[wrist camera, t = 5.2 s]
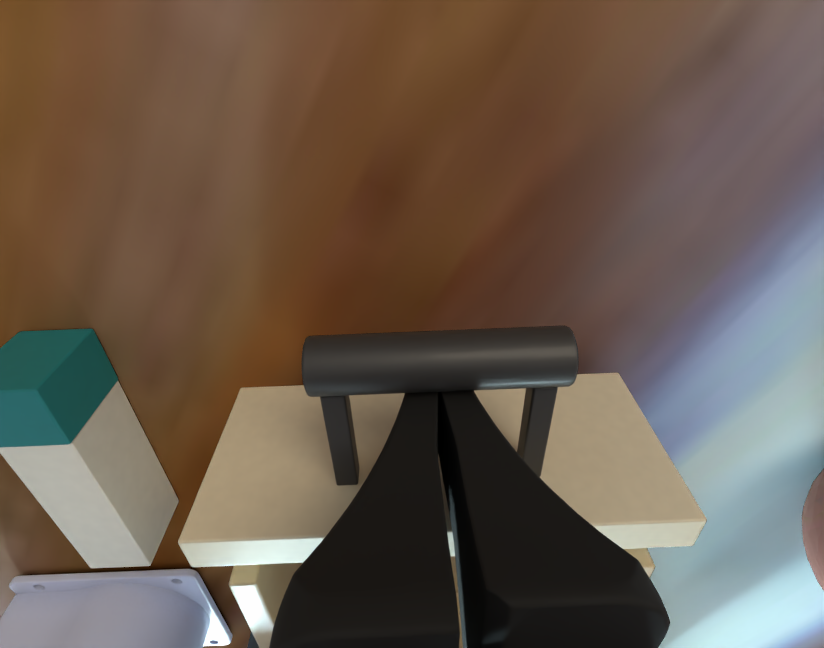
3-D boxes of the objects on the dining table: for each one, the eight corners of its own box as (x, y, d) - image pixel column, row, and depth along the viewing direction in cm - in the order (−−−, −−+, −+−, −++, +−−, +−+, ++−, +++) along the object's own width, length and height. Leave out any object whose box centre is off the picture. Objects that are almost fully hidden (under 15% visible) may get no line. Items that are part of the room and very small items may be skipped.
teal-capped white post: (180, 500, 21) (150, 569, 18) (125, 502, 21) (87, 571, 18) (93, 327, 16) (34, 390, 13) (19, 330, 16) (-55, 394, 13)
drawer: (201, 265, 14) (98, 403, 9) (653, 248, 14) (789, 375, 9) (302, 584, 24) (279, 726, 19) (560, 573, 24) (601, 712, 19)
